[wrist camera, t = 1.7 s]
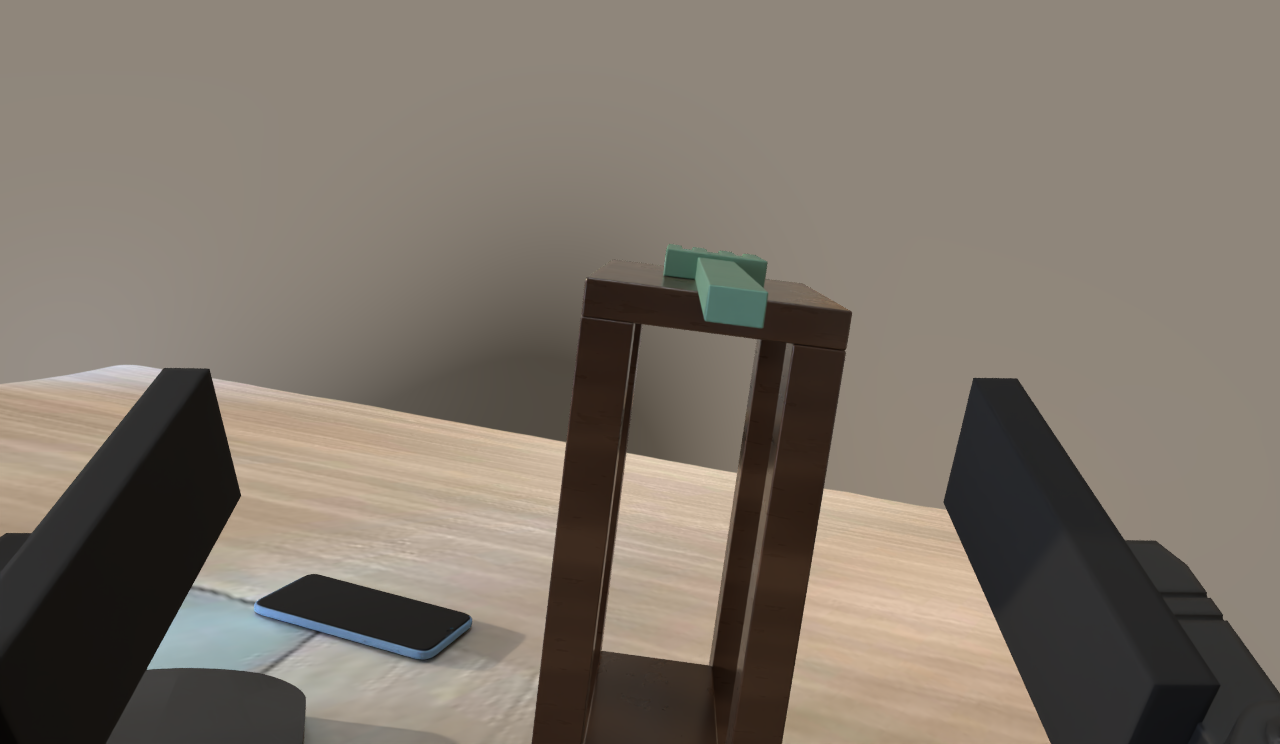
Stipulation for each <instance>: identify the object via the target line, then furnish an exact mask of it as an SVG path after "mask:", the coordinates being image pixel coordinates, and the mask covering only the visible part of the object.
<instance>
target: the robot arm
mask: <svg viewBox="0 0 1280 744" xmlns="http://www.w3.org/2000/svg"><path fill="white" fill-rule="evenodd" d="M240 497H241V493H240V489H239V485H238V481H237V477H236V473H235V469H234V465H233V461H232V457H231V453H230V449H229V445H228V441H227V437H226V433H225V429H224V425H223V421H222V417H221V413H220V409H219V405H218V401H217V397H216V393H215V389H214V385H213V381H212V377H211V373H210V369H194V368H186V369H185V368H164V369H163V370H162V371H161V372H160V374H159V375H158V376H157V377H156V379H155V380H154V381H153V382H152V384H151V385H150V386H149V387H148V389H147V390H146V391H145V392H144V394H143V395H142V396H141V397H140V399H139V400H138V401H137V402H136V404H135V405H134V406H133V407H132V409H131V410H130V411H129V412H128V414H127V415H126V416H125V417H124V419H123V420H122V421H121V422H120V424H119V425H118V426H117V427H116V429H115V430H114V431H113V432H112V434H111V435H110V436H109V437H108V439H107V440H106V441H105V442H104V444H103V445H102V446H101V447H100V449H99V450H98V451H97V452H96V454H95V455H94V456H93V457H92V459H91V460H90V461H89V462H88V464H87V465H86V466H85V467H84V469H83V470H82V471H81V472H80V474H79V475H78V476H77V477H76V479H75V480H74V481H73V482H72V484H71V485H70V486H69V487H68V489H67V490H66V491H65V492H64V494H63V495H62V496H61V497H60V499H59V500H58V501H57V502H56V504H55V505H54V506H53V507H52V509H51V510H50V511H49V512H48V514H47V515H46V516H45V517H44V519H43V520H42V521H41V522H40V524H39V525H38V526H37V527H36V529H35V530H34V531H33V532H32V533H6V534H4V535H3V536H1V537H0V744H106V742H107V741H108V739H109V737H110V735H111V733H112V731H113V730H114V728H115V726H116V724H117V722H118V720H119V719H120V717H121V715H122V713H123V711H124V709H125V708H126V706H127V704H128V702H129V700H130V698H131V697H132V695H133V693H134V691H135V689H136V687H137V686H138V684H139V682H140V680H141V678H142V676H143V675H144V673H145V671H146V669H147V667H148V665H149V664H150V662H151V660H152V658H153V656H154V654H155V653H156V651H157V649H158V647H159V645H160V643H161V642H162V640H163V638H164V636H165V634H166V632H167V631H168V629H169V627H170V625H171V623H172V621H173V620H174V618H175V616H176V614H177V612H178V610H179V609H180V607H181V605H182V603H183V601H184V599H185V598H186V596H187V594H188V592H189V590H190V588H191V587H192V585H193V583H194V581H195V579H196V578H197V576H198V574H199V572H200V570H201V568H202V567H203V565H204V563H205V561H206V559H207V557H208V556H209V554H210V552H211V550H212V548H213V546H214V545H215V543H216V541H217V539H218V537H219V535H220V534H221V532H222V530H223V528H224V526H225V524H226V523H227V521H228V519H229V517H230V515H231V513H232V512H233V510H234V508H235V506H236V504H237V502H238V501H239V499H240ZM944 505H945V507H946V509H947V511H948V513H949V516H950V518H951V520H952V522H953V525H954V527H955V529H956V531H957V534H958V536H959V538H960V540H961V543H962V545H963V547H964V549H965V552H966V554H967V556H968V558H969V561H970V563H971V565H972V567H973V570H974V572H975V574H976V576H977V579H978V581H979V583H980V585H981V588H982V590H983V592H984V594H985V597H986V599H987V601H988V603H989V606H990V608H991V610H992V612H993V615H994V617H995V619H996V621H997V623H998V626H999V628H1000V630H1001V632H1002V635H1003V637H1004V639H1005V641H1006V644H1007V646H1008V648H1009V650H1010V653H1011V655H1012V657H1013V659H1014V662H1015V664H1016V666H1017V668H1018V671H1019V673H1020V675H1021V677H1022V680H1023V682H1024V684H1025V686H1026V689H1027V691H1028V693H1029V695H1030V698H1031V700H1032V702H1033V704H1034V707H1035V709H1036V711H1037V713H1038V716H1039V718H1040V720H1041V722H1042V724H1043V727H1044V729H1045V731H1046V733H1047V736H1048V738H1049V740H1050V742H1051V744H1280V693H1279V692H1278V690H1277V689H1276V688H1275V686H1274V685H1273V684H1272V682H1271V681H1270V679H1269V678H1268V676H1267V675H1266V674H1265V672H1264V671H1263V670H1262V668H1261V667H1260V665H1259V664H1258V663H1257V661H1256V660H1255V658H1254V657H1253V656H1252V654H1251V653H1250V652H1249V650H1248V649H1247V647H1246V646H1245V645H1244V643H1243V642H1242V641H1241V639H1240V638H1239V636H1238V635H1237V634H1236V632H1235V631H1234V629H1233V628H1232V627H1231V625H1230V624H1229V623H1228V621H1224V620H1223V614H1222V613H1221V612H1220V610H1219V609H1218V607H1217V606H1216V605H1215V603H1214V602H1213V601H1212V599H1211V598H1207V592H1206V591H1205V589H1204V588H1203V587H1202V585H1201V584H1200V582H1199V581H1198V580H1197V578H1196V577H1195V576H1194V574H1193V573H1192V572H1191V570H1190V569H1189V567H1188V566H1187V565H1186V564H1185V563H1184V562H1182V561H1181V560H1180V559H1179V558H1177V557H1176V556H1174V555H1173V554H1172V553H1171V552H1169V551H1168V550H1167V549H1165V548H1164V547H1163V546H1162V545H1161V544H1159V543H1158V542H1157V541H1133V540H1132V541H1131V540H1127V541H1125V540H1124V539H1123V537H1122V536H1121V534H1120V533H1119V531H1118V530H1117V528H1116V527H1115V525H1114V524H1113V522H1112V521H1111V519H1110V518H1109V516H1108V515H1107V513H1106V512H1105V510H1104V509H1103V507H1102V506H1101V504H1100V503H1099V501H1098V499H1097V498H1096V496H1095V495H1094V493H1093V492H1092V490H1091V489H1090V487H1089V486H1088V485H1087V483H1086V481H1085V480H1084V478H1083V477H1082V475H1081V474H1080V472H1079V471H1078V469H1077V468H1076V466H1075V465H1074V464H1073V462H1072V460H1071V459H1070V457H1069V456H1068V455H1067V453H1066V451H1065V450H1064V448H1063V447H1062V445H1061V444H1060V442H1059V441H1058V439H1057V438H1056V436H1055V435H1054V433H1053V432H1052V430H1051V429H1050V427H1049V426H1048V424H1047V423H1046V421H1045V420H1044V418H1043V417H1042V415H1041V414H1040V413H1039V411H1038V409H1037V408H1036V406H1035V405H1034V403H1033V402H1032V401H1031V399H1030V397H1029V396H1028V394H1027V393H1026V391H1025V390H1024V388H1023V387H1022V385H1021V384H1020V382H1019V381H1018V379H1012V378H1008V379H1007V378H1006V379H1005V378H1003V379H1002V378H973V382H972V386H971V390H970V394H969V398H968V403H967V407H966V411H965V415H964V419H963V423H962V428H961V432H960V436H959V440H958V444H957V448H956V453H955V457H954V461H953V465H952V469H951V473H950V477H949V482H948V486H947V490H946V494H945V499H944Z"/></svg>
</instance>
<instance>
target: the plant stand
mask: <svg viewBox="0 0 1280 744" xmlns="http://www.w3.org/2000/svg"><path fill="white" fill-rule="evenodd" d="M663 272H664V266H661V265H653V264H646V263H638V262H630V261H622V260H615V259H614V260H612V261H610V262H608V263H607V264H605V265H604V266H603V267H601V268H600V269H598V270H597V271H595V272H594V273H592V274H591V275H589V276H588V277H587V278H586V279H585V287H584V296H583V304H582V313H581V314H582V317H581V321H580V329H579V338H578V346H577V355H576V364H575V373H574V382H573V390H572V399H571V408H570V416H569V425H568V433H567V442H566V450H565V459H564V468H563V476H562V485H561V494H560V502H559V511H558V520H557V528H556V537H555V546H554V554H553V563H552V572H551V580H550V589H549V598H548V606H547V615H546V624H545V633H544V641H543V650H542V659H541V667H540V676H539V685H538V693H537V702H536V711H535V719H534V728H533V737H532V744H782V739H783V733H784V727H785V721H786V715H787V709H788V703H789V697H790V691H791V684H792V678H793V672H794V666H795V660H796V654H797V648H798V642H799V636H800V629H801V623H802V617H803V611H804V605H805V599H806V593H807V587H808V581H809V575H810V568H811V562H812V556H813V550H814V544H815V538H816V532H817V526H818V520H819V513H820V507H821V501H822V495H823V489H824V483H825V476H826V471H827V465H828V458H829V452H830V445H831V440H832V434H833V427H834V422H835V416H836V409H837V404H838V397H839V391H840V385H841V379H842V372H843V367H844V361H845V354H846V352H845V351H844V350H846V348H847V342H848V336H849V330H850V323H851V317H852V312H851V311H850V310H848V309H846V308H844V307H843V306H841V305H839V304H837V303H836V302H834V301H832V300H830V299H829V298H827V297H825V296H823V295H822V294H820V293H818V292H816V291H815V290H813V289H811V288H809V287H808V286H806V285H804V284H802V283H793V282H786V281H778V280H770V279H765V283H764V289H765V290H766V291H767V292H768V300H767V307H766V314H765V321H764V327H763V328H762V329H761V328H753V327H745V326H737V325H730V324H722V323H714V322H706V321H705V320H704V316H703V311H702V307H701V303H700V298H699V294H698V289H697V285H696V280H691V279H683V278H676V277H668V276H664V275H663ZM643 324H645V325H652V326H659V327H667V328H675V329H682V330H690V331H698V332H706V333H714V334H722V335H729V336H736V337H744V338H752V339H757V343H756V350H755V357H754V363H753V370H752V377H751V383H750V391H749V397H748V404H747V412H746V418H745V425H744V432H743V438H742V444H741V451H740V458H739V465H738V472H737V478H736V485H735V492H734V499H733V506H732V512H731V519H730V526H729V533H728V539H727V546H726V553H725V560H724V567H723V573H722V580H721V587H720V594H719V600H718V607H717V614H716V621H715V628H714V634H713V641H712V648H711V655H710V662H709V665H701V664H694V663H687V662H679V661H672V660H665V659H657V658H650V657H643V656H635V655H628V654H621V653H614V652H606V651H601V650H602V642H603V634H604V626H605V618H606V610H607V602H608V595H609V587H610V579H611V571H612V563H613V555H614V547H615V539H616V531H617V523H618V515H619V508H620V500H621V492H622V484H623V476H624V468H625V460H626V452H627V444H628V436H629V428H630V421H631V413H632V405H633V397H634V389H635V381H636V373H637V365H638V357H639V349H640V342H641V334H642V326H643Z"/></svg>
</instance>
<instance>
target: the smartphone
mask: <svg viewBox="0 0 1280 744" xmlns="http://www.w3.org/2000/svg"><path fill="white" fill-rule="evenodd" d="M254 610H255V612H257V613H258V614H260V615H263V616H267V617H270V618H274V619H277V620H281V621H284V622H288V623H292V624H295V625H299V626H302V627H306V628H309V629H313V630H316V631H320V632H323V633H327V634H330V635H334V636H337V637H341V638H344V639H348V640H351V641H355V642H358V643H362V644H365V645H369V646H372V647H376V648H380V649H383V650H387V651H390V652H394V653H397V654H401V655H404V656H408V657H411V658H415V659H429V658H432V657H433V656H435V655H436V654H438V653H439V652H440V651H441V650H443V649H444V648H445V647H446V646H448V645H449V644H450V643H451V642H453V641H454V640H455V639H456V638H458V637H459V636H460V635H461V634H463V633H464V632H465V631H466V630H468V629H469V628H470V627H471V625H472V618H471V616H469V615H467V614H465V613H462V612H458V611H455V610H451V609H447V608H443V607H439V606H436V605H432V604H428V603H424V602H421V601H417V600H413V599H409V598H405V597H402V596H398V595H394V594H390V593H386V592H383V591H379V590H375V589H371V588H367V587H364V586H360V585H356V584H352V583H349V582H345V581H341V580H337V579H333V578H330V577H326V576H322V575H318V574H310V575H307V576H304V577H302V578H300V579H298V580H296V581H294V582H292V583H290V584H288V585H286V586H284V587H282V588H280V589H278V590H277V591H275V592H273V593H271V594H269V595H267V596H265V597H263V598H261V599H259V600H258V601H256V603H255V605H254Z"/></svg>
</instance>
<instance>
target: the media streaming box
mask: <svg viewBox="0 0 1280 744" xmlns="http://www.w3.org/2000/svg"><path fill="white" fill-rule="evenodd" d="M305 710H306V697H305V695H304V694H303V692H302V691H301V690H299V689H298V688H297V687H295V686H294V685H292V684H290V683H288V682H286V681H283V680H281V679H278V678H275V677H272V676H268V675H264V674H260V673H253V672H246V671H236V670H225V669H205V668H172V669H152V670H146V671H145V673H144V675H143V676H142V678H141V680H140V682H139V684H138V686H137V687H136V689H135V691H134V693H133V695H132V697H131V698H130V700H129V702H128V704H127V706H126V708H125V709H124V711H123V713H122V715H121V717H120V719H119V720H118V722H117V724H116V726H115V728H114V730H113V731H112V733H111V735H110V737H109V739H108V741H107V742H106V744H303V739H304V725H305Z"/></svg>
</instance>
